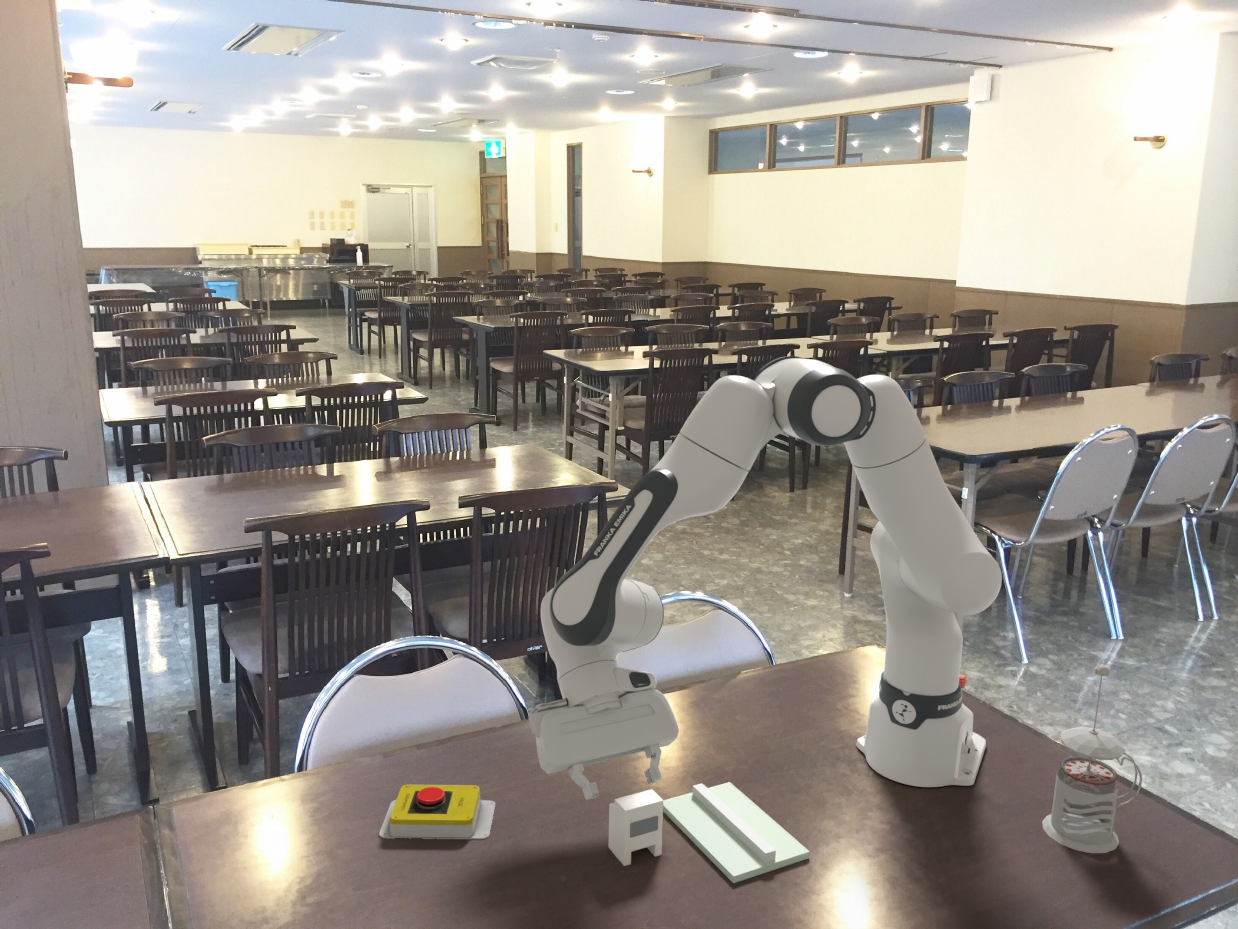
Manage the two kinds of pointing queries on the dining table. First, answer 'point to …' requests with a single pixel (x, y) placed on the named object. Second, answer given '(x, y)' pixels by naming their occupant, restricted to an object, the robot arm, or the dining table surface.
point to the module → (635, 825)
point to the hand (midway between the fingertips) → (624, 789)
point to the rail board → (733, 831)
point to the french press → (1088, 789)
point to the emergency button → (438, 813)
